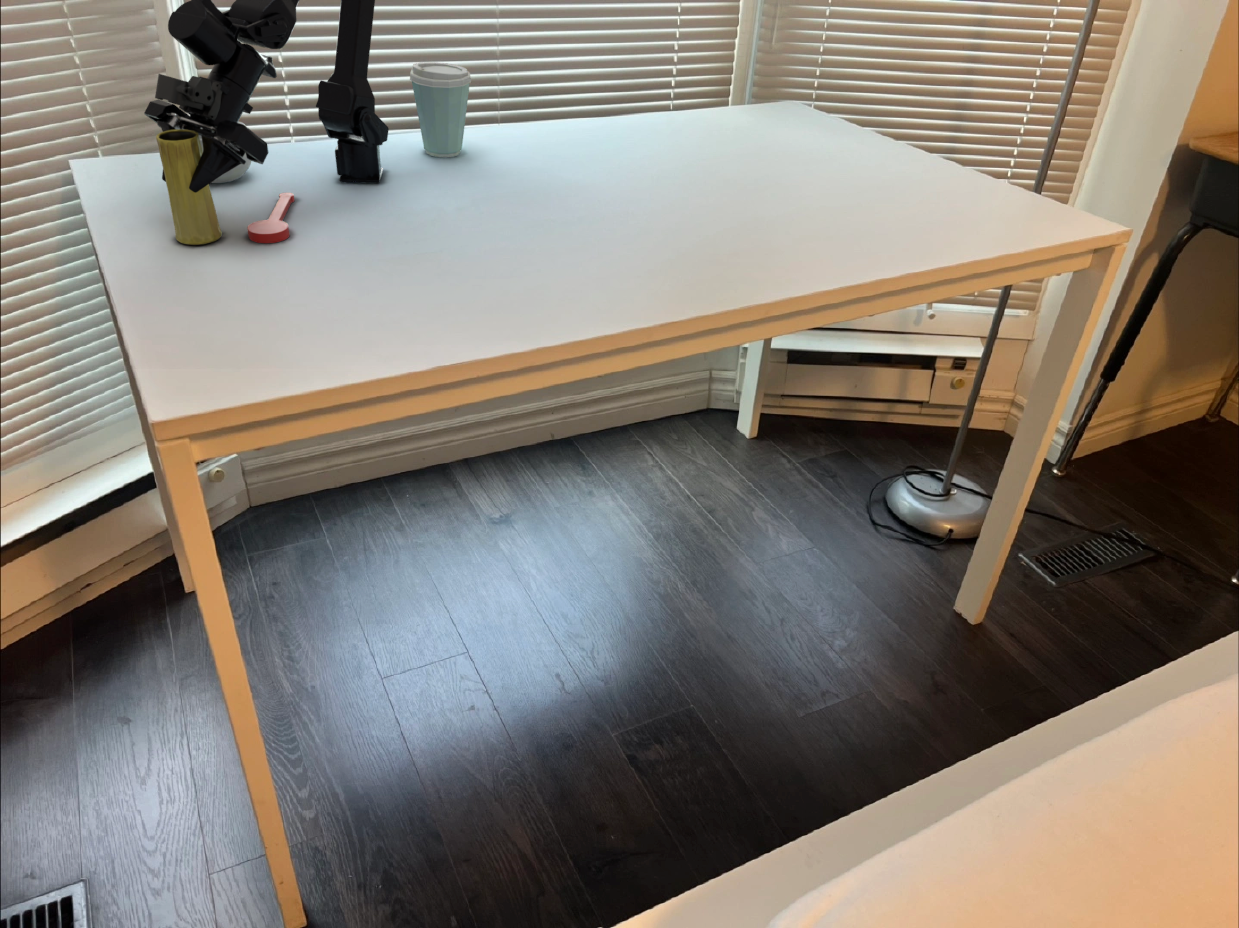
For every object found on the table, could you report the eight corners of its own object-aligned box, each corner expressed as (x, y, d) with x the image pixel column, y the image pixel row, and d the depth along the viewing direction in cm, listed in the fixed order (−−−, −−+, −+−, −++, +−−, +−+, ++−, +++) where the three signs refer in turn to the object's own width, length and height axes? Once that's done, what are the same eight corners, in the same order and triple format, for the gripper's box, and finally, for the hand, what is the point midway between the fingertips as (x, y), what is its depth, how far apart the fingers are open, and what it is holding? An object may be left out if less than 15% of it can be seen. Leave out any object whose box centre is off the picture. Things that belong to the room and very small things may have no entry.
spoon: (306, 198, 150) (305, 189, 149) (286, 243, 135) (284, 234, 134) (270, 198, 149) (268, 189, 148) (244, 243, 134) (243, 233, 134)
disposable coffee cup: (443, 139, 178) (439, 54, 169) (486, 152, 173) (484, 65, 165) (401, 152, 171) (395, 63, 162) (445, 166, 166) (440, 75, 157)
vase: (231, 234, 136) (211, 133, 128) (199, 248, 132) (176, 145, 123) (199, 225, 138) (177, 125, 130) (166, 239, 133) (141, 136, 125)
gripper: (139, 36, 127) (85, 139, 126) (234, 60, 119) (177, 170, 118) (201, 86, 137) (152, 182, 136) (292, 111, 130) (241, 213, 128)
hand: (178, 186), depth 129 cm, fingers closed on vase, 5 cm apart
